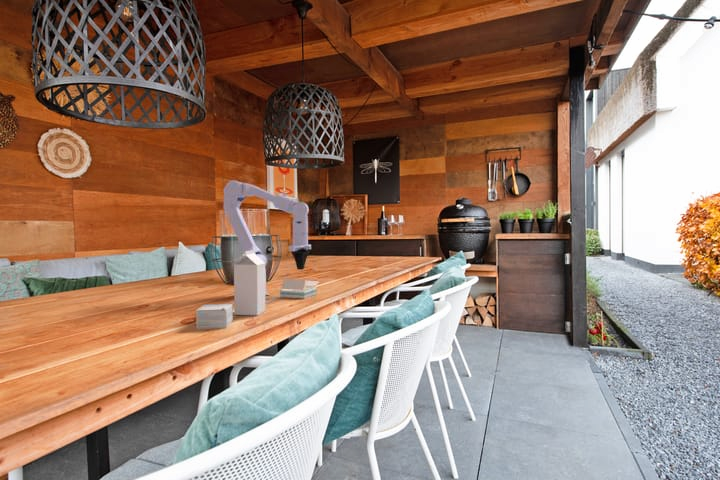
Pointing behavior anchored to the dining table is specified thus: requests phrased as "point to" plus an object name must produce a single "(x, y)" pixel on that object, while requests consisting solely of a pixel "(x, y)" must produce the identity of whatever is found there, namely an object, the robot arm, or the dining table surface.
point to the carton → (298, 293)
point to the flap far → (311, 283)
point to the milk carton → (249, 285)
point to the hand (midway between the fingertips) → (300, 269)
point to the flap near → (293, 284)
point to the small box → (214, 316)
